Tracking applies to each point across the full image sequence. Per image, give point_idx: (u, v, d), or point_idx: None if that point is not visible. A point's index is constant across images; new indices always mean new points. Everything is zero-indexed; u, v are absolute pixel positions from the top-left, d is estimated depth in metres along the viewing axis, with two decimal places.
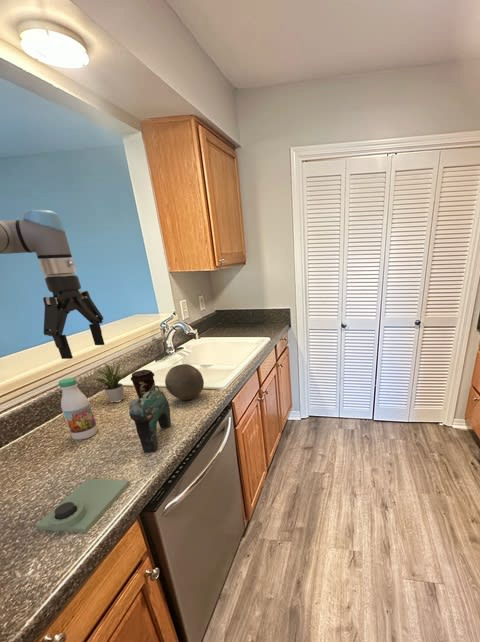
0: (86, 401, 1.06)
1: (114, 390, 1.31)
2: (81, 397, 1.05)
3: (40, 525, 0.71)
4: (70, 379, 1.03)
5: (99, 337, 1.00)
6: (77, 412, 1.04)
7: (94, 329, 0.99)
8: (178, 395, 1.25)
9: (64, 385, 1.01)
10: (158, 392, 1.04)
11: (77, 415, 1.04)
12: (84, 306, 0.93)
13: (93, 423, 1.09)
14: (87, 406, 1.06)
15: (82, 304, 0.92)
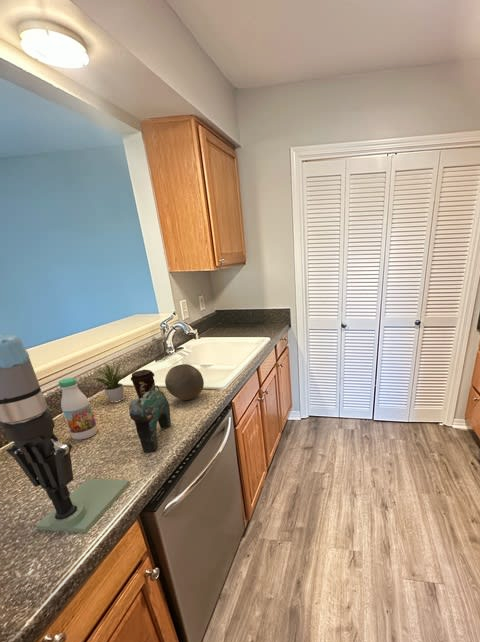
0: (86, 401, 1.06)
1: (114, 390, 1.31)
2: (81, 397, 1.05)
3: (40, 525, 0.71)
4: (70, 379, 1.03)
5: None
6: (77, 412, 1.04)
7: None
8: (178, 395, 1.25)
9: (64, 385, 1.01)
10: (158, 392, 1.04)
11: (77, 415, 1.04)
12: None
13: (93, 423, 1.09)
14: (87, 406, 1.06)
15: None
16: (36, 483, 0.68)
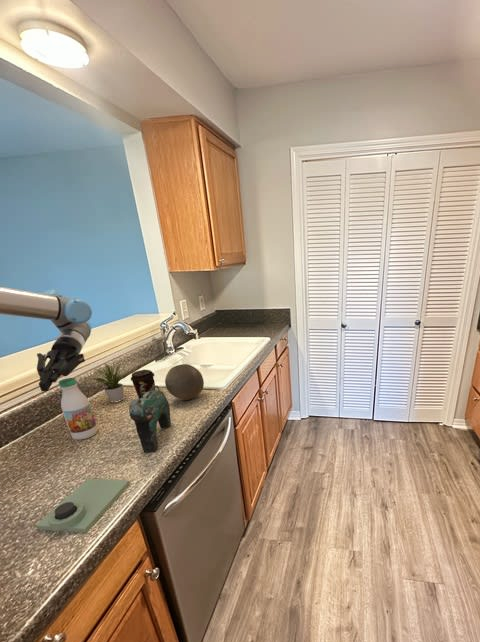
0: (86, 401, 1.06)
1: (114, 390, 1.31)
2: (81, 397, 1.05)
3: (40, 525, 0.71)
4: (70, 379, 1.03)
5: None
6: (77, 412, 1.04)
7: None
8: (178, 395, 1.25)
9: (64, 385, 1.01)
10: (158, 392, 1.04)
11: (77, 415, 1.04)
12: None
13: (93, 423, 1.09)
14: (87, 406, 1.06)
15: None
16: (40, 368, 0.96)
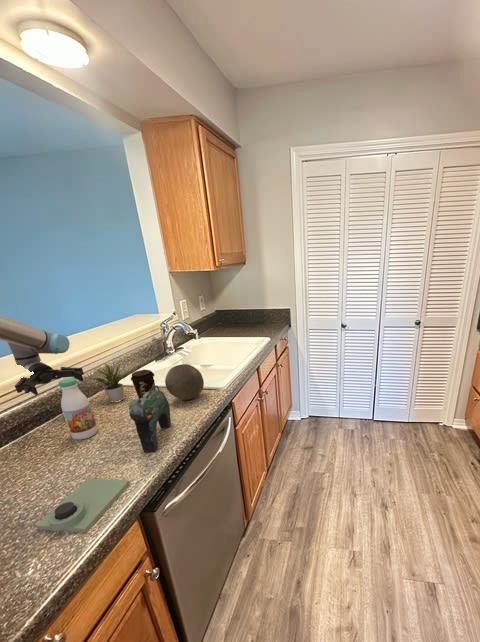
0: (86, 401, 1.06)
1: (114, 390, 1.31)
2: (81, 397, 1.05)
3: (40, 525, 0.71)
4: (70, 379, 1.03)
5: None
6: (77, 412, 1.04)
7: None
8: (178, 395, 1.25)
9: (64, 385, 1.01)
10: (158, 392, 1.04)
11: (77, 415, 1.04)
12: None
13: (93, 423, 1.09)
14: (87, 406, 1.06)
15: None
16: (18, 385, 1.07)
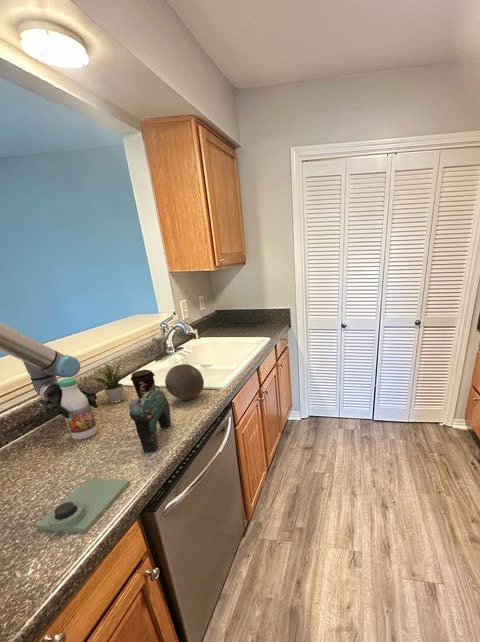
0: (86, 401, 1.06)
1: (114, 390, 1.31)
2: (81, 397, 1.05)
3: (40, 525, 0.71)
4: (70, 379, 1.03)
5: None
6: (77, 412, 1.04)
7: None
8: (178, 395, 1.25)
9: (64, 385, 1.01)
10: (158, 392, 1.04)
11: (77, 415, 1.04)
12: None
13: (93, 423, 1.09)
14: (87, 406, 1.06)
15: None
16: (48, 407, 1.03)
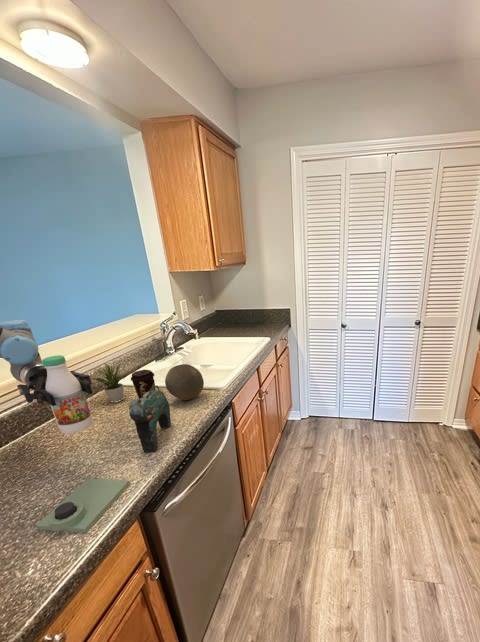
0: (78, 385, 0.84)
1: (114, 390, 1.31)
2: (71, 380, 0.83)
3: (40, 525, 0.71)
4: (57, 356, 0.81)
5: None
6: (66, 398, 0.82)
7: None
8: (178, 395, 1.25)
9: (49, 363, 0.79)
10: (158, 392, 1.04)
11: (66, 402, 0.82)
12: None
13: (87, 413, 0.87)
14: (79, 391, 0.84)
15: None
16: (28, 392, 0.81)
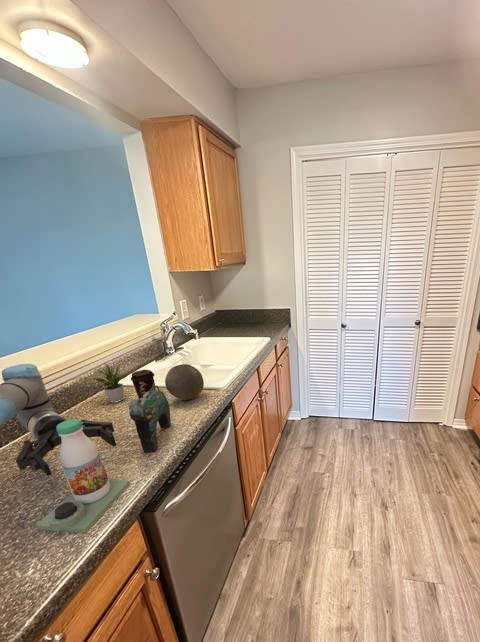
0: (95, 451, 0.76)
1: (114, 390, 1.31)
2: (88, 446, 0.75)
3: (40, 525, 0.71)
4: (73, 422, 0.73)
5: None
6: (82, 468, 0.73)
7: None
8: (178, 395, 1.25)
9: (64, 431, 0.71)
10: (158, 392, 1.04)
11: (82, 471, 0.74)
12: None
13: (104, 479, 0.79)
14: (96, 458, 0.76)
15: None
16: (21, 458, 0.71)
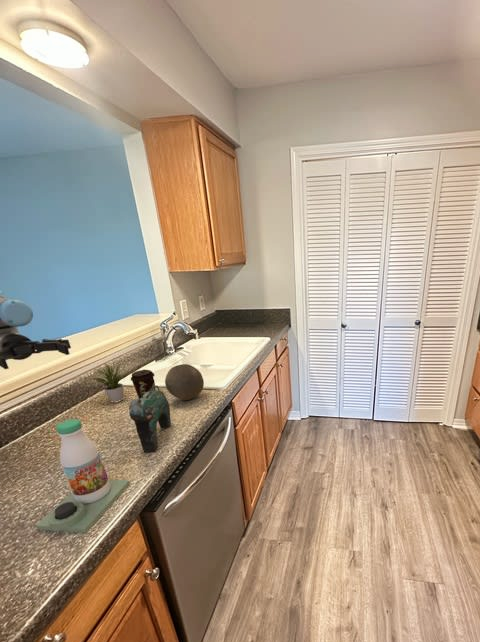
0: (95, 451, 0.76)
1: (114, 390, 1.31)
2: (88, 446, 0.75)
3: (40, 525, 0.71)
4: (73, 422, 0.73)
5: None
6: (82, 468, 0.73)
7: None
8: (178, 395, 1.25)
9: (64, 431, 0.71)
10: (158, 392, 1.04)
11: (82, 471, 0.74)
12: None
13: (104, 479, 0.79)
14: (96, 458, 0.76)
15: (14, 357, 0.92)
16: None
